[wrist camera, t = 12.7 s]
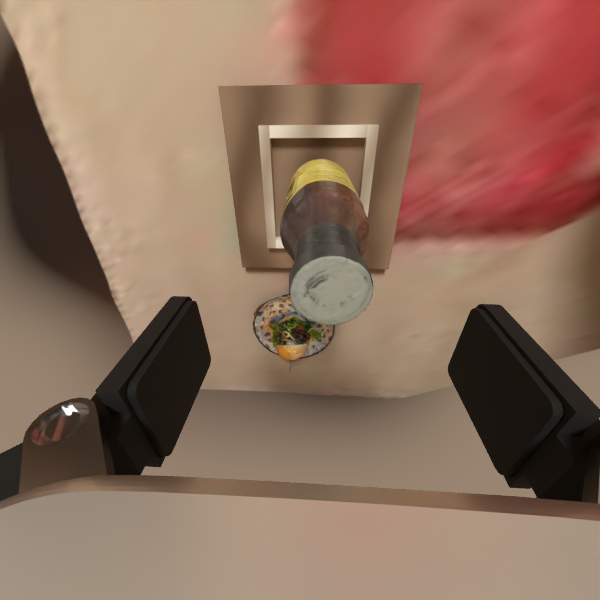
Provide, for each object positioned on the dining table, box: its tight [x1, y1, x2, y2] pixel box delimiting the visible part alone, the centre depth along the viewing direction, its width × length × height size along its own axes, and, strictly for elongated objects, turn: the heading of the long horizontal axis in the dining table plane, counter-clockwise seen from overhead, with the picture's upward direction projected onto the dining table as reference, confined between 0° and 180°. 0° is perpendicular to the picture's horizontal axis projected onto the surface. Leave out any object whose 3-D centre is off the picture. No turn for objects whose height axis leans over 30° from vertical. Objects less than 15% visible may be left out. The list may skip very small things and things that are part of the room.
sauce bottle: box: [280, 159, 373, 325], centre depth 21 cm, size 7×6×20 cm
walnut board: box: [218, 83, 423, 269], centre depth 30 cm, size 18×18×2 cm
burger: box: [253, 294, 335, 369], centre depth 38 cm, size 12×12×8 cm
